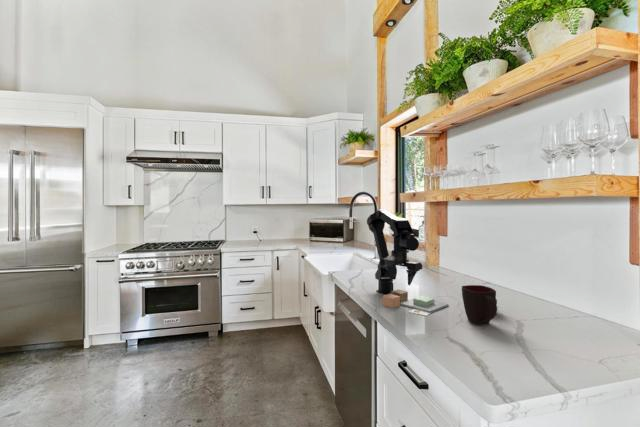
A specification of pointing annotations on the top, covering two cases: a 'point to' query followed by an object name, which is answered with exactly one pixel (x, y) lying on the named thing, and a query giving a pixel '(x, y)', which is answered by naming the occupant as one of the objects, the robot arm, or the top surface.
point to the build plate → (427, 309)
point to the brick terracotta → (391, 300)
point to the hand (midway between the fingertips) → (400, 283)
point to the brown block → (401, 294)
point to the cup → (479, 304)
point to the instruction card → (419, 312)
